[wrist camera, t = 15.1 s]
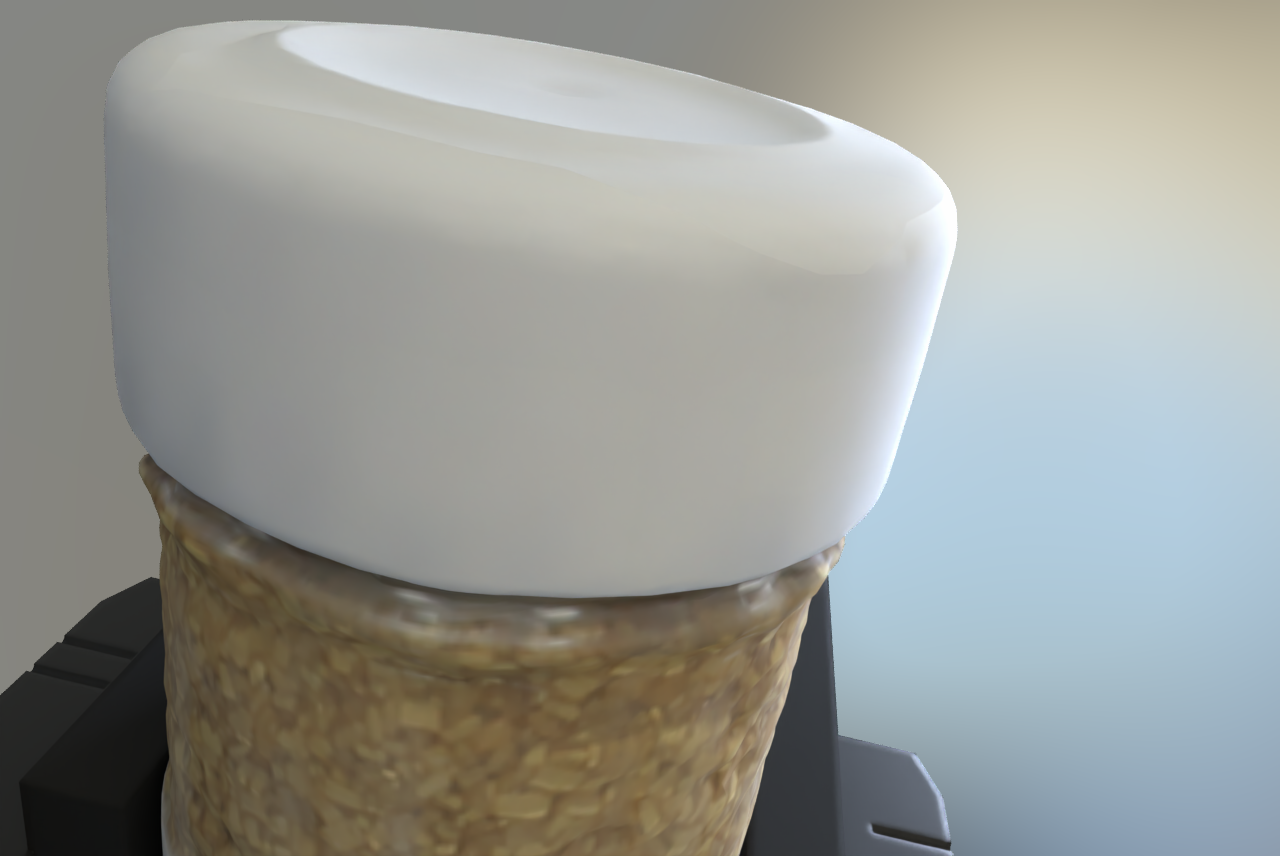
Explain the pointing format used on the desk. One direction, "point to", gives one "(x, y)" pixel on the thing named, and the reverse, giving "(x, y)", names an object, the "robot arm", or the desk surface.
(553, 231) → the sprinkles bottle
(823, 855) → the robot arm
